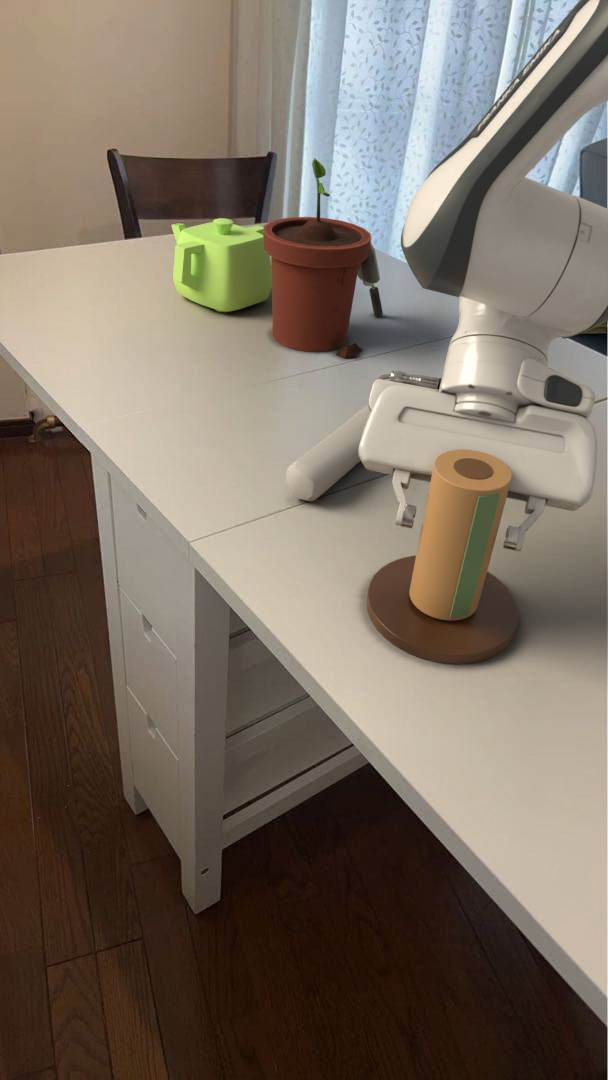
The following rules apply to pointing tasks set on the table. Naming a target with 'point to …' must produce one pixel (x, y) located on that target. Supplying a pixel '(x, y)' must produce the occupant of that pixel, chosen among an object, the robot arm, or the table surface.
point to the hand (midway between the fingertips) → (457, 537)
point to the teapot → (221, 265)
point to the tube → (327, 459)
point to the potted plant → (318, 278)
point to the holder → (436, 636)
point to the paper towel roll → (458, 532)
